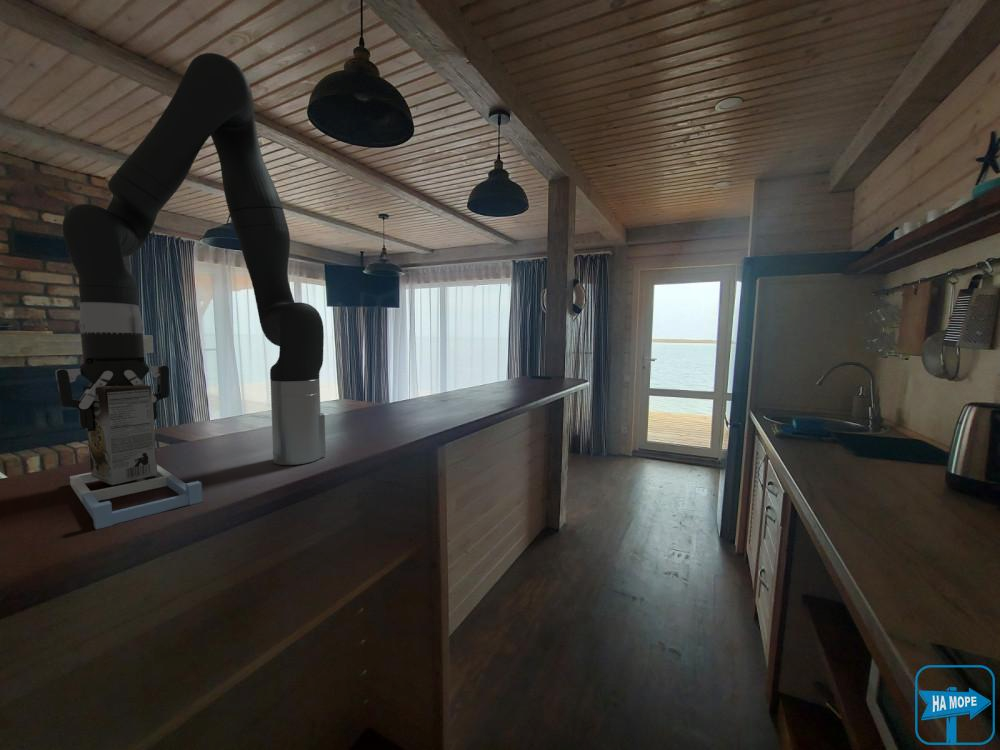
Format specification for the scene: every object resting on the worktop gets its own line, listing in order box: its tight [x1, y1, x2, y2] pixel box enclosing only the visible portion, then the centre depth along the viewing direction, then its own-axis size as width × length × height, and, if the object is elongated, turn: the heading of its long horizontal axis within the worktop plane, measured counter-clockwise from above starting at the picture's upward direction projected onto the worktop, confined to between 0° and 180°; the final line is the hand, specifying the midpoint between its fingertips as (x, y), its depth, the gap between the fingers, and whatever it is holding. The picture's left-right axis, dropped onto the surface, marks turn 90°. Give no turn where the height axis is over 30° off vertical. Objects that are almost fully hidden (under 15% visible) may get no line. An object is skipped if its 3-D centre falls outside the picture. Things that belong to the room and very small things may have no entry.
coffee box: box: [82, 384, 158, 486], centre depth 67 cm, size 9×6×16 cm
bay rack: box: [69, 464, 203, 530], centre depth 64 cm, size 12×27×3 cm, turn 53°
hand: (120, 426), depth 67 cm, fingers closed on coffee box, 7 cm apart
